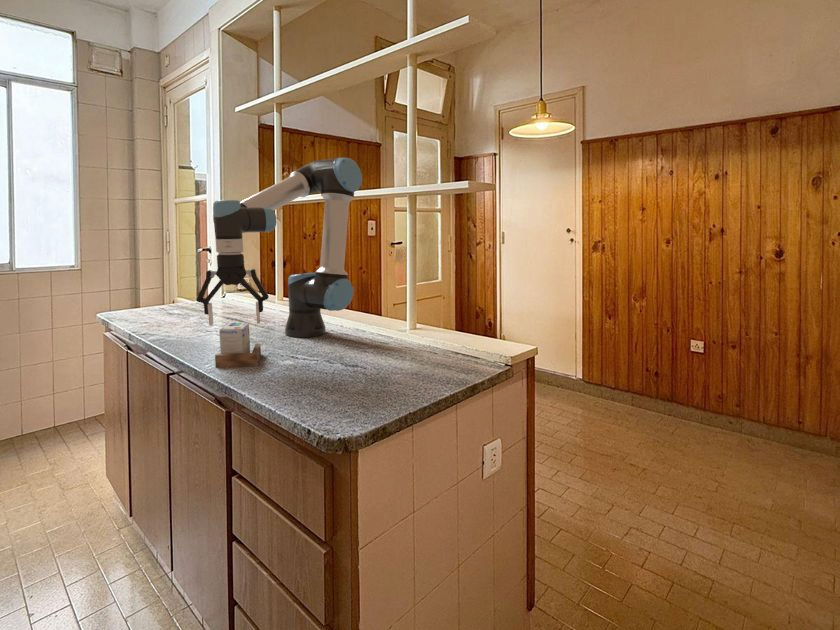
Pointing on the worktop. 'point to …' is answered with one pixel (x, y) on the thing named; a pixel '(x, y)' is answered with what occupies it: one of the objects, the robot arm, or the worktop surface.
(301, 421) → the worktop surface
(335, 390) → the worktop surface
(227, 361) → the walnut corner fence
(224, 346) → the light bulb box
